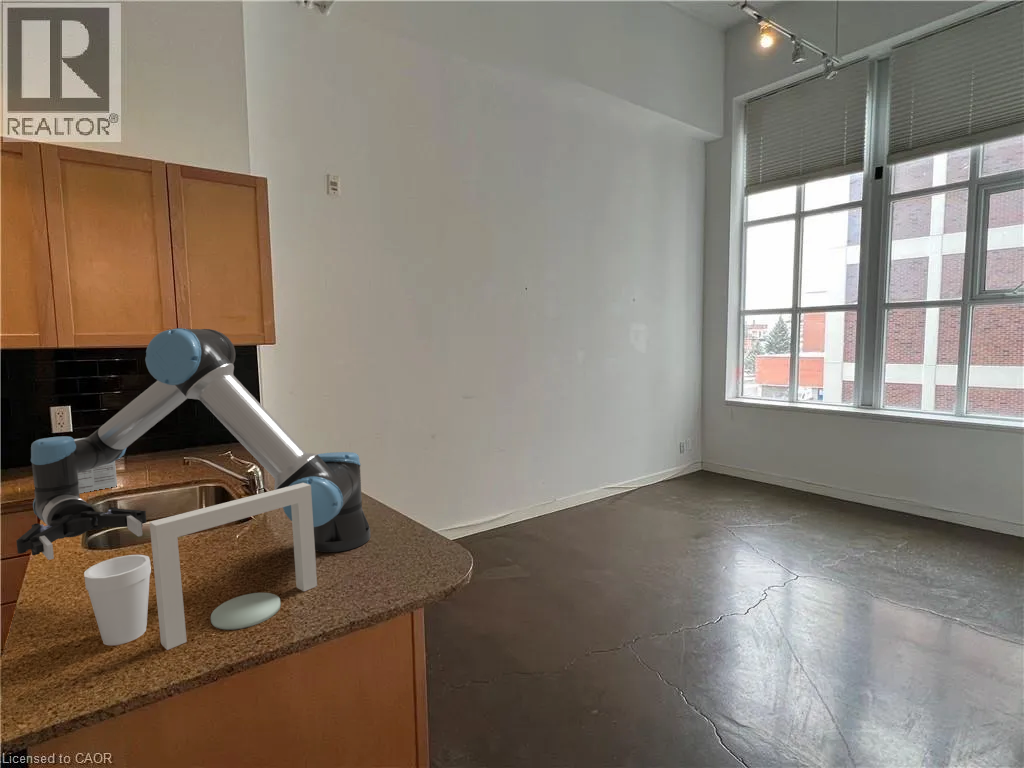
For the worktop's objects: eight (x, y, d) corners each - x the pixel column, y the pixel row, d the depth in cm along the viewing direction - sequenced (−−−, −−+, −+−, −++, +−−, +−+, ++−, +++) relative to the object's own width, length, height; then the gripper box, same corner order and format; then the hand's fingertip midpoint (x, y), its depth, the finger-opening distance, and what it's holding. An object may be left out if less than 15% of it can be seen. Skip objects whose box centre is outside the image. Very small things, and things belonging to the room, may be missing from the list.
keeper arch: (298, 576, 116) (292, 479, 113) (329, 592, 108) (322, 488, 106) (152, 634, 94) (140, 516, 92) (177, 660, 86) (165, 531, 84)
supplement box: (69, 487, 189) (64, 440, 187) (114, 480, 198) (110, 434, 196) (70, 495, 179) (65, 445, 178) (118, 487, 188) (113, 439, 186)
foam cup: (167, 619, 99) (161, 553, 97) (134, 649, 90) (126, 577, 88) (116, 621, 98) (109, 555, 97) (77, 651, 89) (69, 579, 88)
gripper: (139, 516, 122) (173, 538, 109) (-10, 552, 103) (9, 584, 90) (136, 485, 121) (170, 503, 108) (-14, 515, 102) (4, 541, 89)
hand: (97, 540), depth 99 cm, fingers open, 13 cm apart
